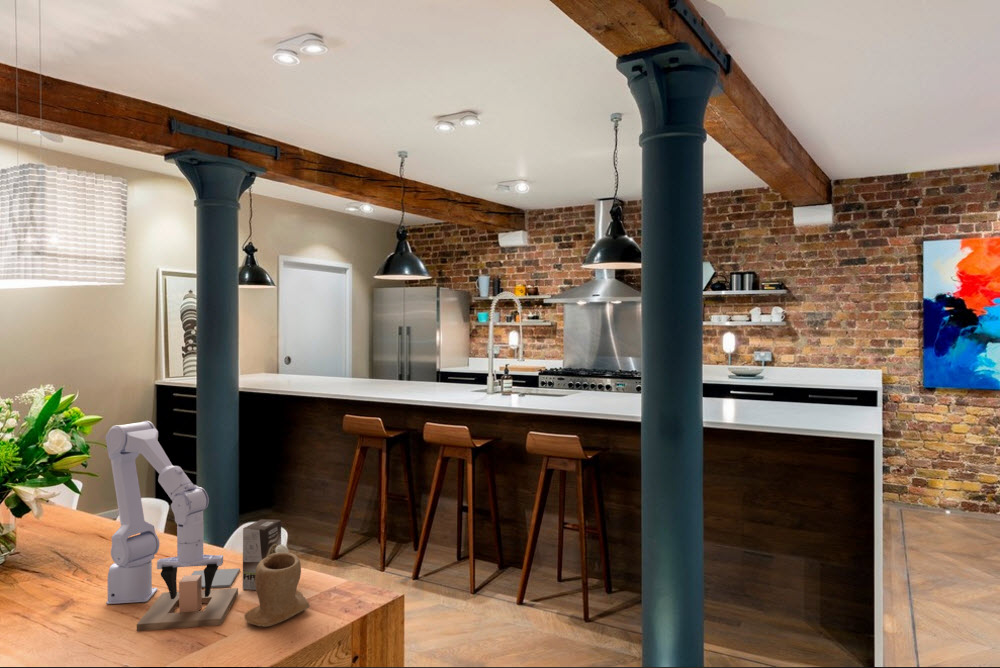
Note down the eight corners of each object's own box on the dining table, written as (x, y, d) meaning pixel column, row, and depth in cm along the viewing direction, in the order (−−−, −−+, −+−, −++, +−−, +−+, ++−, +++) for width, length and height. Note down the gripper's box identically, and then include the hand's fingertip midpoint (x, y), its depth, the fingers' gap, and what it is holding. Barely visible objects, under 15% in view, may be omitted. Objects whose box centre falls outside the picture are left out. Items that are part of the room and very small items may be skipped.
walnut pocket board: (136, 630, 151) (136, 624, 151) (162, 598, 168) (162, 592, 168) (220, 625, 154) (220, 618, 154) (237, 593, 171) (237, 588, 171)
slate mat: (181, 589, 174) (181, 587, 174) (194, 572, 186) (194, 570, 186) (230, 587, 176) (230, 584, 176) (239, 570, 188) (239, 568, 188)
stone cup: (269, 636, 148) (269, 569, 148) (237, 622, 155) (237, 558, 155) (323, 612, 161) (323, 550, 160) (291, 600, 167) (291, 541, 167)
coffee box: (264, 591, 173) (264, 529, 173) (241, 589, 174) (241, 527, 174) (282, 578, 182) (282, 519, 182) (260, 576, 183) (260, 518, 183)
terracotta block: (179, 615, 159) (179, 582, 159) (184, 608, 163) (184, 575, 163) (197, 614, 159) (196, 581, 159) (201, 607, 163) (201, 574, 163)
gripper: (152, 547, 156) (152, 605, 156) (218, 543, 158) (218, 600, 158) (162, 537, 163) (162, 593, 163) (225, 534, 165) (225, 589, 165)
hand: (190, 596), depth 161 cm, fingers open, 7 cm apart
